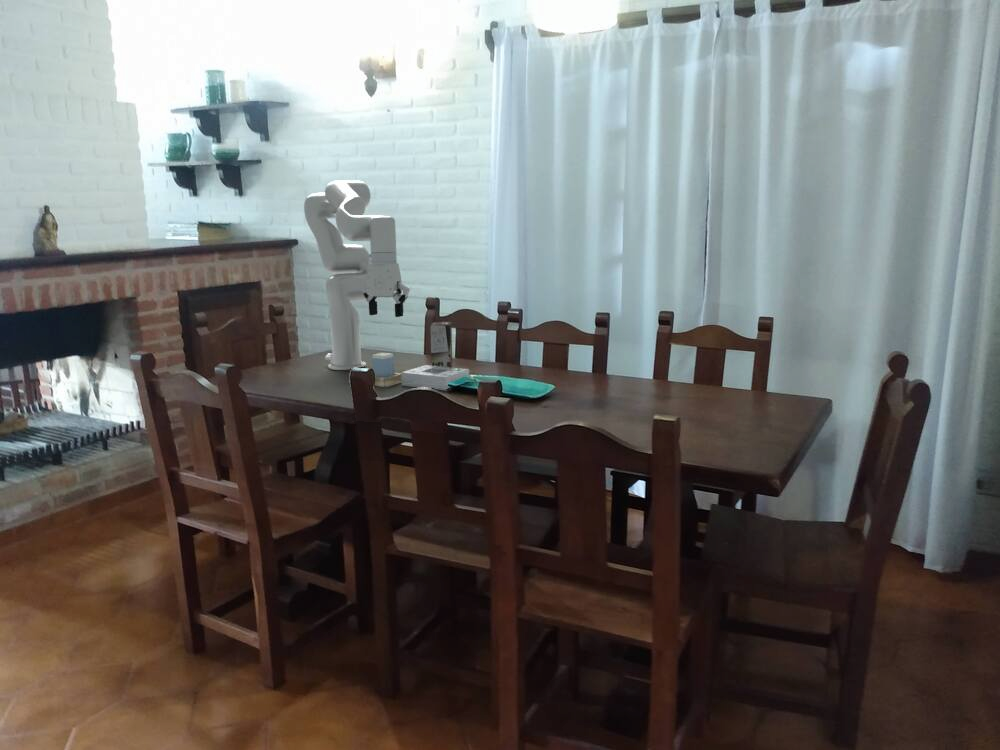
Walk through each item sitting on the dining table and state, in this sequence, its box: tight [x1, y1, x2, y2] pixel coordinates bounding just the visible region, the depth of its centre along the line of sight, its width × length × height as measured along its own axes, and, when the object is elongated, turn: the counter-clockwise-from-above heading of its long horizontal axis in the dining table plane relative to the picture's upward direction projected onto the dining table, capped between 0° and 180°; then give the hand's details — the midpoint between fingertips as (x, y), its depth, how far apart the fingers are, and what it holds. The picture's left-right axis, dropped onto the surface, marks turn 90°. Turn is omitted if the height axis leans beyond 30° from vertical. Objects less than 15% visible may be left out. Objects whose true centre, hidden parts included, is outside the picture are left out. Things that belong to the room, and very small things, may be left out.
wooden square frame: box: [374, 372, 402, 388], centre depth 234 cm, size 9×9×2 cm
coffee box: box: [429, 321, 454, 368], centre depth 248 cm, size 9×6×16 cm
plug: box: [372, 352, 395, 378], centre depth 233 cm, size 4×4×9 cm
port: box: [400, 364, 470, 391], centre depth 232 cm, size 16×13×4 cm
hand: (386, 315), depth 230 cm, fingers open, 9 cm apart
